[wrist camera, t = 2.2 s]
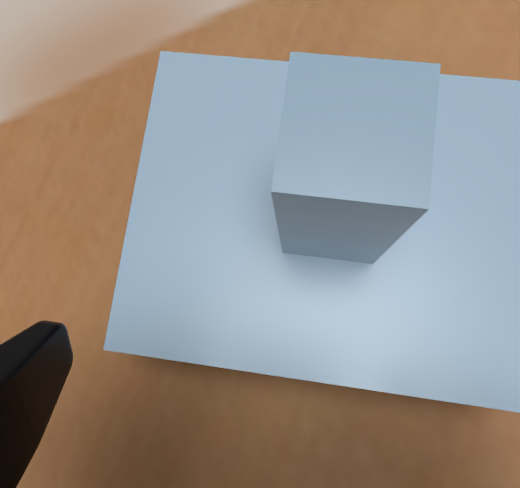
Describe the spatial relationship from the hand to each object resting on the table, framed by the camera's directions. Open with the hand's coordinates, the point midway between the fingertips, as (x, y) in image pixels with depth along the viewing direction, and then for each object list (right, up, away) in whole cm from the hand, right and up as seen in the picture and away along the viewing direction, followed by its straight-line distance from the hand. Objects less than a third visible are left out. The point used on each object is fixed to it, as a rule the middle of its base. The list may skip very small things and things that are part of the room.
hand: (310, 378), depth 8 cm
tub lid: (+2, +3, +9) cm, 10 cm away
